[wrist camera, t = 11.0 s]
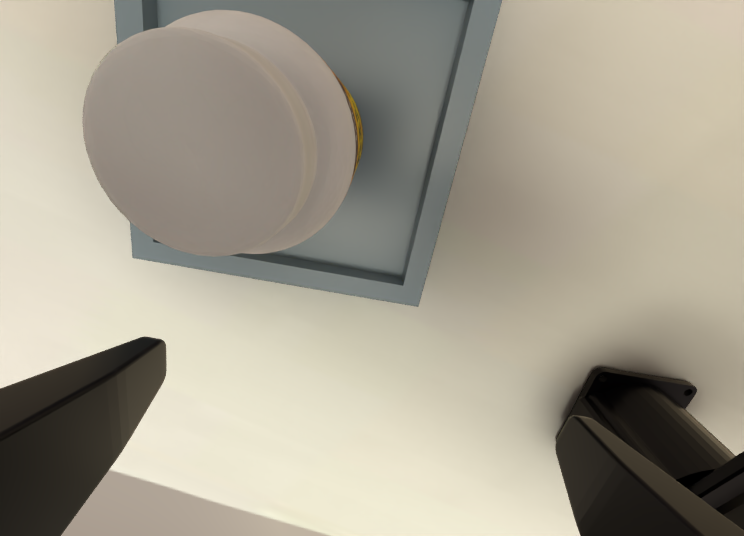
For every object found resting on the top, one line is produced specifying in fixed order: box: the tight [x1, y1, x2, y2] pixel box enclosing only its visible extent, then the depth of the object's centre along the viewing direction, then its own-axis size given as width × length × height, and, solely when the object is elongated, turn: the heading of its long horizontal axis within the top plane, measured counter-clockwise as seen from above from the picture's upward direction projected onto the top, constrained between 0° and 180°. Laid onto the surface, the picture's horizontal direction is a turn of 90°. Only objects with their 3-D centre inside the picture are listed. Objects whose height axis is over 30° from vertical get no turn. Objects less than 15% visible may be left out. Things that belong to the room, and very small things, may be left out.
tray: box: [114, 0, 502, 307], centre depth 16 cm, size 14×14×2 cm
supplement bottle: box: [83, 10, 363, 257], centre depth 11 cm, size 6×6×10 cm
